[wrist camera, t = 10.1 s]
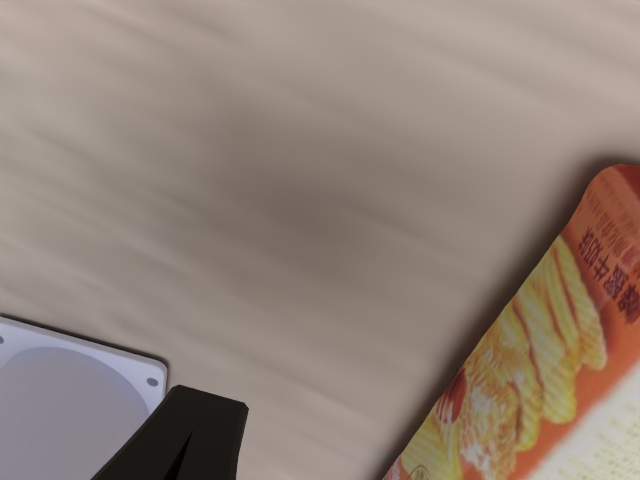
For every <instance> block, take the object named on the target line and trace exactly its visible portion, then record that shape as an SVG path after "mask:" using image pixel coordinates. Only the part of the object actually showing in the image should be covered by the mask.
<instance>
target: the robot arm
mask: <svg viewBox="0 0 640 480" xmlns="http://www.w3.org/2000/svg"><path fill="white" fill-rule="evenodd" d="M153 378H154V379H153ZM155 379H156V380H155ZM166 380H167V368H166V366H165V365H164V364H163V363H162V362H160V361H158V360H154V359H150V358H147V357H143V356H140V355H136V354H133V353H129V352H125V351H122V350H118V349H115V348H111V347H108V346H104V345H100V344H97V343H93V342H90V341H86V340H83V339H79V338H75V337H72V336H68V335H65V334H61V333H57V332H54V331H50V330H47V329H43V328H40V327H36V326H32V325H29V324H25V323H22V322H18V321H15V320H11V319H7V318H4V317H0V480H236V472H237V463H238V455H239V451H240V446H241V442H242V438H243V433H244V429H245V424H246V420H247V415H248V411H249V408H248V407H247V406H246V404H245V403H243V402H240V401H236V400H232V399H229V398H225V397H222V396H218V395H215V394H211V393H207V392H204V391H200V390H197V389H193V388H190V387H186V386H182V385H177V386H174V387H172V388H171V390H170V391H169V392H168V394H167V395H166V396H165V390H166Z"/></svg>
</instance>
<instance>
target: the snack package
mask: <svg viewBox="0 0 640 480" xmlns="http://www.w3.org/2000/svg"><path fill="white" fill-rule="evenodd" d="M382 480H640V166H637V165H631V164H618V165H613V166H610V167H607V168H605V169H603V170H602V171H601V172H600V173H598V174H597V175H596V176H595V177H594V178H593V179H592V181H591V182H590V184H589V185H588V187H587V189H586V191H585V193H584V195H583V197H582V199H581V201H580V204H579V205H578V207H577V209H576V211H575V212H574V214H573V216H572V218H571V219H570V221H569V222H568V224H567V225H566V226H565V227H564V229H563V230H562V231H561V233H560V234H559V235H558V236H557V238H556V239H555V240H554V242H553V243H552V245H551V246H550V248H549V249H548V251H547V252H546V253H545V255H544V256H543V258H542V259H541V261H540V262H539V263H538V265H537V266H536V267H535V268H534V269H533V271H532V272H531V273H530V275H529V276H528V277H527V279H526V280H525V281H524V283H523V284H522V286H521V287H520V288H519V290H518V291H517V293H516V294H515V295H514V297H513V298H512V299H511V300H510V301H509V303H508V304H507V305H506V306H505V308H504V309H503V311H502V312H501V313H500V315H499V316H498V318H497V319H496V321H495V322H494V323H493V324H492V325H491V327H490V328H489V329H488V330H487V332H486V333H485V334H484V336H483V337H482V338H481V340H480V341H479V343H478V344H477V346H476V347H475V349H474V350H473V351H472V353H471V354H470V356H469V357H468V358H467V359H466V361H465V362H464V363H463V364H462V366H461V367H460V369H459V370H458V371H457V373H456V374H455V376H454V377H453V379H452V380H451V382H450V384H449V385H448V387H447V389H446V390H445V392H444V393H443V394H442V396H441V397H440V398H439V399H438V400H437V402H436V403H435V405H434V406H433V408H432V409H431V411H430V413H429V414H428V416H427V418H426V419H425V421H424V422H423V424H422V425H421V427H420V428H419V429H418V430H417V432H416V433H415V434H414V436H413V437H412V439H411V440H410V442H409V443H408V445H407V446H406V448H405V449H404V451H403V452H402V453H401V454H400V455H399V457H398V458H397V459H396V460H395V462H394V463H393V465H392V466H391V468H390V469H389V471H388V472H387V474H386V475H385V477H384V478H383V479H382Z"/></svg>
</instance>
